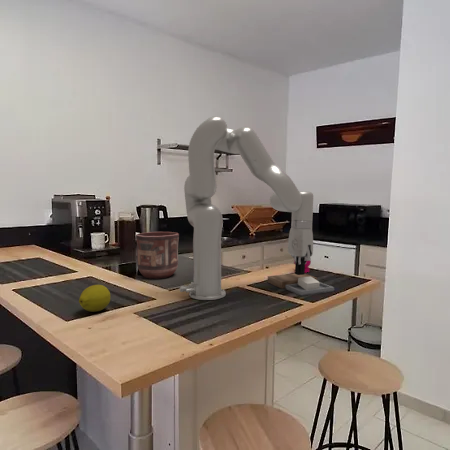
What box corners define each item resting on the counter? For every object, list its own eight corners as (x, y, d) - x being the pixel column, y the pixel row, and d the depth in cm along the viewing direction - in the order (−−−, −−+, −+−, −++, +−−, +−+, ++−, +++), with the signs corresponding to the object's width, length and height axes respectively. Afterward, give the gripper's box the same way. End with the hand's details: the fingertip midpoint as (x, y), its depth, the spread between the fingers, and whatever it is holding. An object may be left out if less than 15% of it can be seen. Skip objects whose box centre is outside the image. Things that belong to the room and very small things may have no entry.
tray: (301, 295, 129) (301, 291, 129) (285, 289, 138) (285, 284, 138) (334, 291, 135) (334, 287, 134) (316, 284, 144) (316, 281, 144)
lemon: (102, 304, 120) (101, 280, 119) (118, 309, 116) (117, 283, 115) (71, 313, 111) (70, 287, 111) (86, 319, 107) (85, 291, 106)
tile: (306, 290, 134) (307, 283, 134) (297, 284, 139) (298, 277, 139) (318, 288, 137) (319, 282, 136) (309, 282, 141) (310, 276, 141)
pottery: (175, 280, 151) (175, 236, 150) (132, 280, 152) (131, 236, 150) (181, 271, 169) (181, 231, 168) (142, 271, 169) (142, 231, 168)
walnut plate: (281, 288, 139) (281, 281, 138) (267, 282, 148) (267, 276, 147) (317, 284, 145) (317, 277, 145) (301, 278, 154) (301, 272, 154)
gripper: (282, 223, 144) (280, 271, 146) (305, 227, 130) (303, 279, 132) (298, 223, 147) (296, 269, 149) (323, 226, 133) (320, 278, 135)
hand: (299, 274), depth 140 cm, fingers closed
